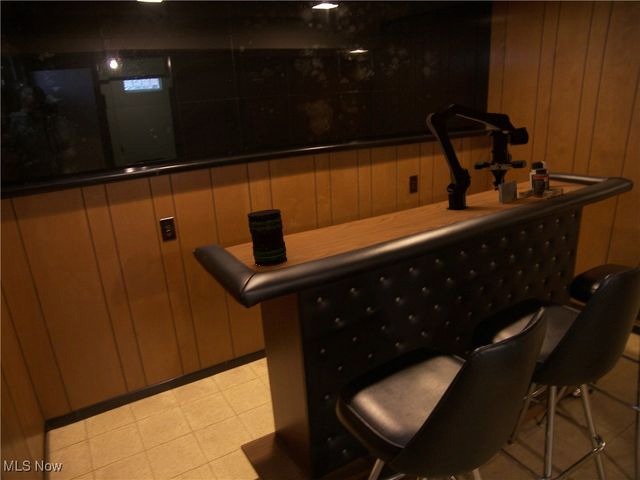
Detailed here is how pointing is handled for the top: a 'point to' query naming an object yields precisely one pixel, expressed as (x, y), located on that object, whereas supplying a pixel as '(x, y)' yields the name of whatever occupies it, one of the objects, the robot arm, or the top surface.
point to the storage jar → (267, 237)
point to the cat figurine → (497, 183)
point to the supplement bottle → (541, 182)
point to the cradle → (545, 195)
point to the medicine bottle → (535, 166)
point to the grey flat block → (507, 191)
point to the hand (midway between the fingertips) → (499, 186)
